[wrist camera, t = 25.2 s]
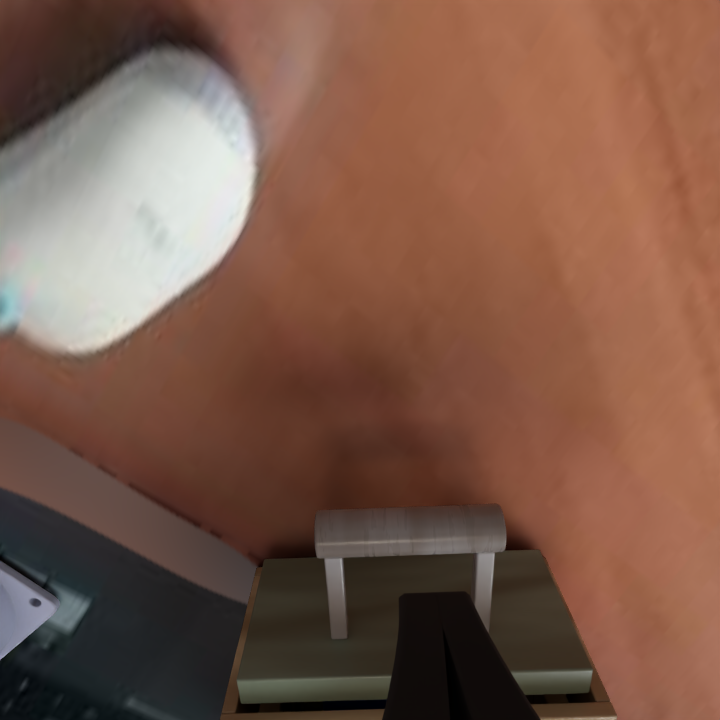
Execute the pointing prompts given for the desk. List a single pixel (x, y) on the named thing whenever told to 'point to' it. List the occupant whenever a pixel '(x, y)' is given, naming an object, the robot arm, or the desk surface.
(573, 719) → the cabinet
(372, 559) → the drawer
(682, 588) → the desk surface
